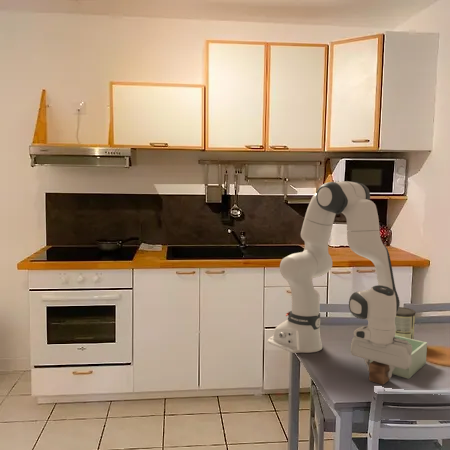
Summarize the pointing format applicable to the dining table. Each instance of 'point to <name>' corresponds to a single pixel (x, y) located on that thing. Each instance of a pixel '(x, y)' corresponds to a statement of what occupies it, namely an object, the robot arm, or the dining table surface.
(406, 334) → the coffee can
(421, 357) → the bin
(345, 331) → the dining table surface
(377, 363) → the block
